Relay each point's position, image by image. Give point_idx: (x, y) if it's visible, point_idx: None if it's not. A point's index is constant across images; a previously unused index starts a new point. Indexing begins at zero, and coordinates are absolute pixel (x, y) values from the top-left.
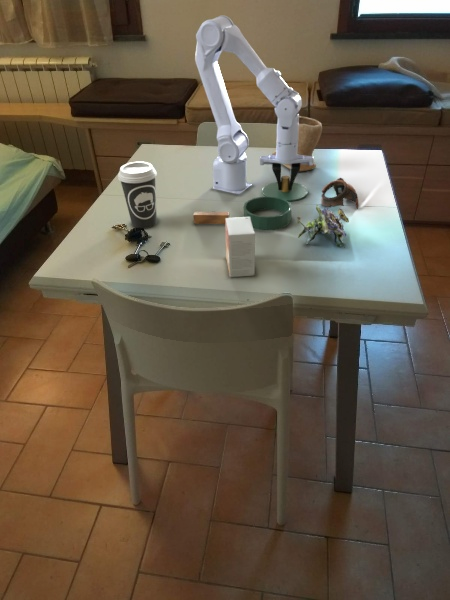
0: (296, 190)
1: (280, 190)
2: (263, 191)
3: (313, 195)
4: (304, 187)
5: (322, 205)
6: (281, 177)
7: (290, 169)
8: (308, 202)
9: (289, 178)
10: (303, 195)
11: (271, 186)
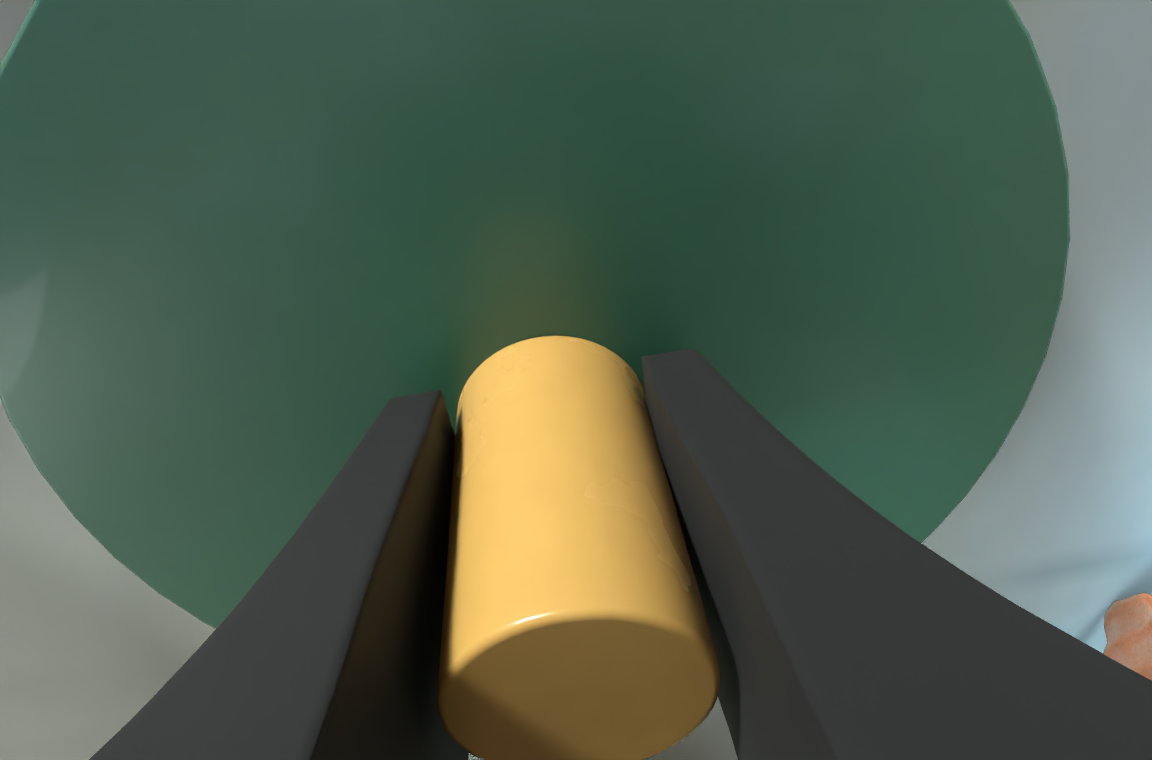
0: (807, 359)
1: (454, 426)
2: (113, 530)
3: (1109, 307)
4: (1030, 163)
5: (1112, 658)
6: (455, 741)
7: (821, 750)
8: (946, 543)
9: (710, 696)
10: (916, 522)
11: (149, 260)
